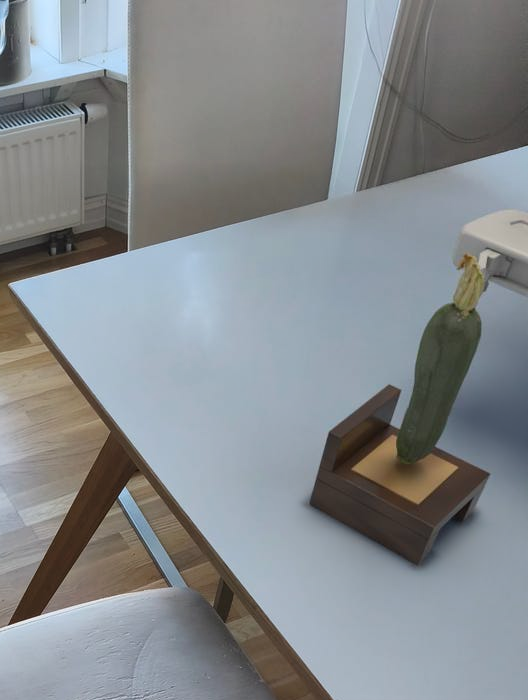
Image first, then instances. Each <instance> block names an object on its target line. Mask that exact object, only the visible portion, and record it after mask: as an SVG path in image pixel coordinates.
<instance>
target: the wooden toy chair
mask: <svg viewBox="0 0 528 700" xmlns="http://www.w3.org/2000/svg"><path fill="white" fill-rule="evenodd" d="M401 393H402V389H401V388H398V387H397V386H394V385H392V384H390V383H389V384H387V385H386V386H384V388H382V389H381V390H380V391H378V392H377V393H376V394H374V395H373V396H372V397H371V398H369V399H368V400H367V401H366V402H365V403H363V404H362V405H361V406H359V407H358V408H356V410H354V411H353V412H351V413H350V414H349V415H348V416H347V417H345V418H344V419H343V420H342V421H340V422H339V423H338V424H336V425H335V426H334V427H333V428H331V429H330V430H329V431H328V432H327V437H326V440H325V443H324V446H323V447H324V448H323V451H322V455H321V459H320V462H319V466H318V469H317V473H316V476H315V481H314V485H313V489H312V492H311V494H310V495H311V496H310V499H309V503H308V505H310V506H311V507H312V508H315V509H316V510H318V511H320V512H322V513H323V514H325V515H327V516H328V517H331V518H332V519H334V520H336V521H338V522H339V523H341V524H343V525H344V526H347V527H349V528H350V529H352V530H354V531H355V532H358V533H359V534H360V535H363V536H364V537H366V538H368V539H370V540H371V541H373V542H375V543H377V544H378V545H380V546H382V547H384V548H385V549H387V550H389V551H391V552H393V553H394V554H396V555H398V556H400V557H401V558H403V559H405V560H407V561H409V562H410V563H412V564H413V565H416V566H419V565H420V564H421V563H422V562H424V560H425V559H426V558H428V556H430V553H431V551H432V549H433V546H434V545H435V542H436V539H437V537H438V535H439V533H440V531H441V529H442V528H443V527H444V526H445V525H446V524H447V523H448V522H449V521H450V520H451V519H452V518H454V519H455V520H457V521H459V522H461V523H463V522H465V520H467V518H469V517H470V516H471V515H472V514H473V512H474V511H475V508H476V506H477V504H478V502H479V500H480V498H481V496H482V494H483V491H484V489H485V487H486V485H487V482H488V480H489V478H490V476H491V473H490V472H488V471H486V470H484V469H482V468H480V467H479V466H477V465H474V464H472V463H470V462H469V461H466V460H464V459H462V458H459V457H458V456H456V455H453V454H451V453H450V452H447V451H445V450H444V449H442V448H439V447H437V446H435V447H434V448H433V450H432V452H431V453H430V454H429V455H428V456H427V457H425V458H424V459H421V460H419V461H417V462H413V463H411V464H404V463H402V462H401V460H400V459H397V458H396V455H397V448H396V440H397V437H398V433H399V431H400V428H399V427H396V426H394V425H392V424H391V423H392V420H393V417H394V414H395V411H396V409H397V405H398V402H399V399H400V396H401Z"/></svg>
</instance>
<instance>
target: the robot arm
mask: <svg viewBox="0 0 528 700" xmlns="http://www.w3.org/2000/svg"><path fill="white" fill-rule="evenodd" d="M454 243H455V244H454V247H453V250H452V255H451V259H452V264H453V266H454V267H456V268H458V266H459V264H460V260H461V259H463V256H464V255H465V254H467V253H469V254H471V255H473V256H475V257H476V258H477V259H478V262H477V263H478V264H479V266H480V268H481V269H480V270H481V272H482V273H483V274H482V276H483V278H484V289H483V293H485V292H487V289H488V287H489V284H490V283H489V282H491V283H493V284H495V285H498V286H500V287H502V288H505V289H507V290H509V291H512V292H514V293H516V294H519V295H520V296H523V297H526V298H528V212H527V211H522V210H519V209H512V208H511V209H510V208H509V209H502V210H497V211H495V212H491V213H489V214H486V215H484V216H480V217H479V218H475V219H474V220H472V221H469V222H467V223H466V224H464V225H463V226H462V227H461V229H460V231H459V233H458V236H457V237H456V241H455V242H454ZM464 266H465V264H464ZM460 270H463V271H465V270H466V267H464V268H461V269H460Z"/></svg>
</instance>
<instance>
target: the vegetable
mask: <svg viewBox="0 0 528 700" xmlns="http://www.w3.org/2000/svg"><path fill="white" fill-rule="evenodd" d="M477 262H478V259H477V258H476V257H475V256H473V255H471V254H469V253H467V254H465V255H464V256H463V259H461V260H460V264H459V266H458V267H456V268H455V269H456V271H460V270H462V269H461V268H464V267H466V270H464V271H463V273H462V274H461V276H460V278H459V280H458V283H457V286H456V288H455V292H454V294H453V295H452V301H451V302H449V303H446V304H444V305H443V306H441V307H439V308H438V309H437V310H436V311H435V312H434V314H433V315H432V316H431V317H430V319H429V320H428V322H427V324H426V325H425V328H424V330H423V333H422V334H421V337H420V338H421V339H420V341H419V346H418V350H417V355H416V360H415V364H414V365H415V366H414V379H413V380H414V381H413V386H412V387H413V388H412V391H411V395H410V398H409V399H410V400H409V403H408V406H407V408H406V411H405V413H404V416H403V419H402V422H401V425H400V427H399V429H400V431H399V433H398V437H397V440H396V448H397V455H396V458H397V459H400V460H401V462H402V463H404V464H411V463H413V462H417V461H419V460H421V459H424V458H425V457H427V456H428V455H429V454H430V453H431V452H432V450H433V448H434V447H436V445H437V444H438V442H439V440H440V438H441V437H442V435H443V433H444V432H445V431H444V430H445V428H446V425H447V422H448V420H449V417H450V415H451V411H452V410H453V406H454V404H455V402H456V400H457V397H458V395H459V392H460V390H461V387H462V385H463V383H464V381H465V378H466V376H467V374H468V372H469V369H470V367H471V365H472V362H473V360H474V358H475V356H476V353H477V349H478V347H479V344H480V342H481V338H482V330H483V329H482V319H481V316H480V314H479V312H478V310H476V307H477V306H478V304H479V300H480V298H481V297H482V295H483V293H484V292H483V289H484V278H483V276H482V274H483V273H482V272H481V270H480V269H481V268H480V266H479V264H478V263H477ZM464 264H465V266H464Z"/></svg>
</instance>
